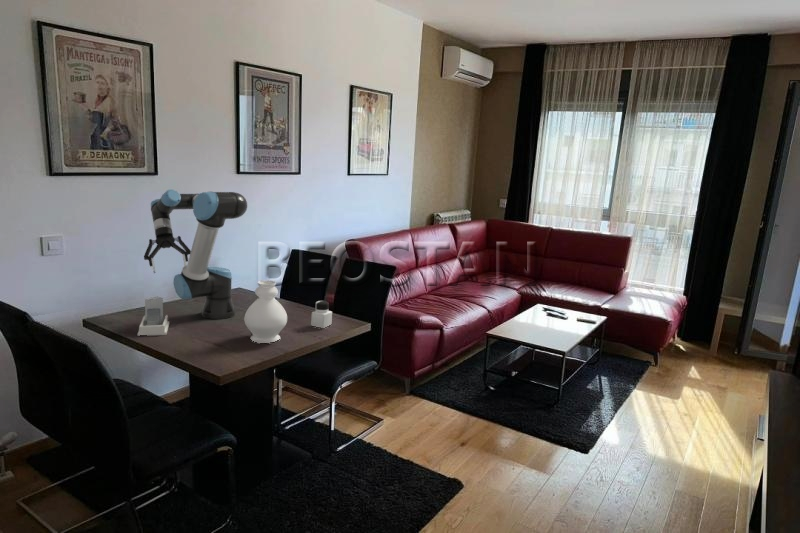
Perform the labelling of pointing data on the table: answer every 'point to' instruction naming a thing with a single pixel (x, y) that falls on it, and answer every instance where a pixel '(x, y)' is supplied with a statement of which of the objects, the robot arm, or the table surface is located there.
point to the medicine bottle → (321, 315)
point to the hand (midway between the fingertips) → (170, 269)
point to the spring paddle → (153, 317)
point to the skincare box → (154, 305)
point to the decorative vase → (265, 314)
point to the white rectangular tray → (153, 328)
